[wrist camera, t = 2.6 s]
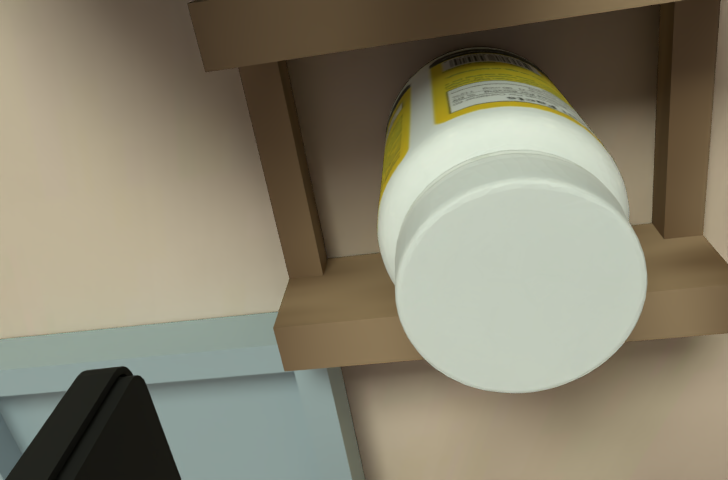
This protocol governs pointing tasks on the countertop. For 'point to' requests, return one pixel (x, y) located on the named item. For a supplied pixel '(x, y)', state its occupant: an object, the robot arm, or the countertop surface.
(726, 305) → the caddy
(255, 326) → the tray
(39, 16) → the countertop surface
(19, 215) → the countertop surface
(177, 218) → the countertop surface
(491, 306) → the supplement bottle
